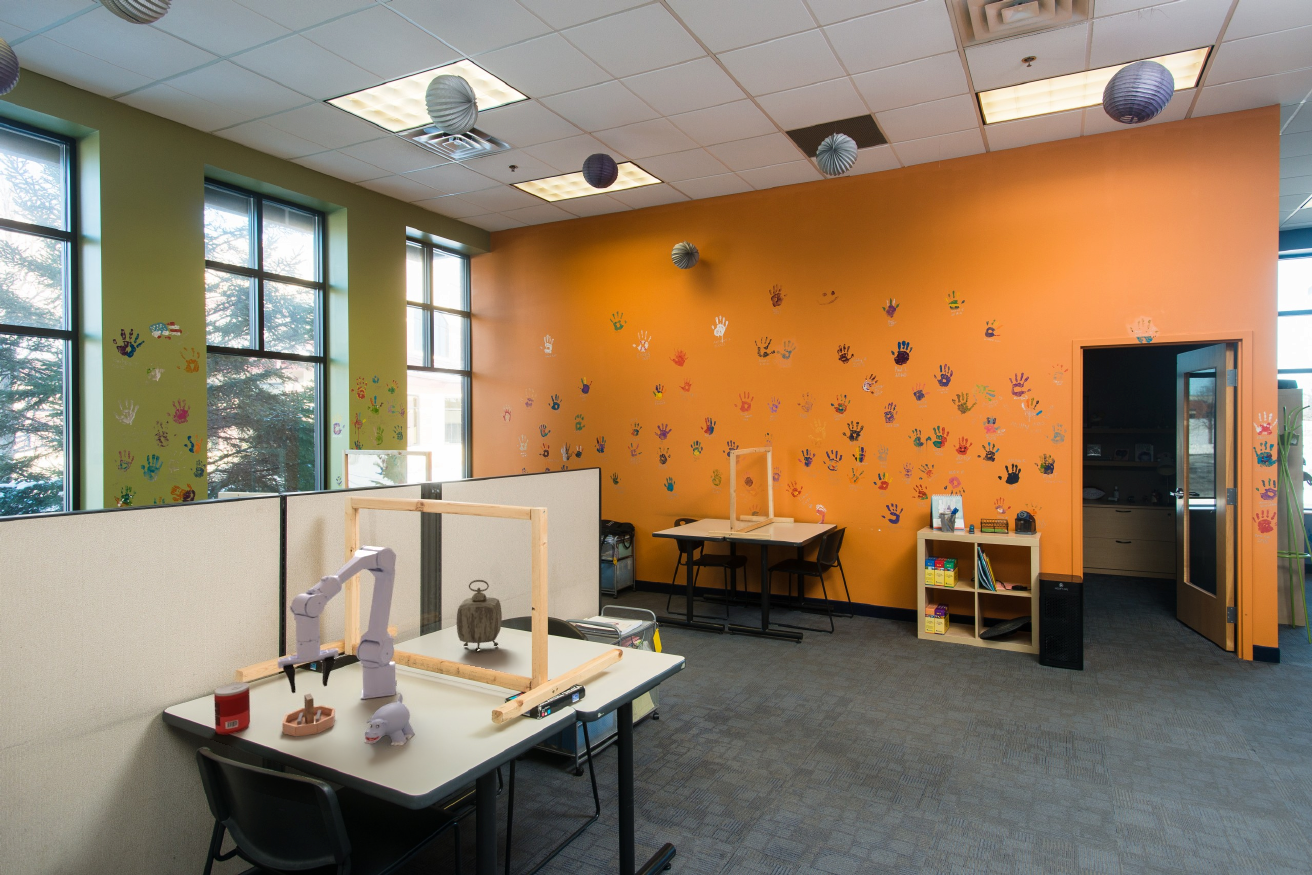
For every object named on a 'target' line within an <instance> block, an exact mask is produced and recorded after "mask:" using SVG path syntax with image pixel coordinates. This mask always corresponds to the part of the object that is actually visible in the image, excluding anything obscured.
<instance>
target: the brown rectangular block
mask: <svg viewBox="0 0 1312 875" xmlns="http://www.w3.org/2000/svg"><path fill="white" fill-rule="evenodd" d="M303 696H304V697H303V698H304V708H305V721H306V723H307V724H311V723H314V706H315V704H314V697H313V696H312V694H311V693H307V694H304V695H303Z"/></svg>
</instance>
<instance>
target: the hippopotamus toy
mask: <svg viewBox="0 0 1312 875" xmlns="http://www.w3.org/2000/svg"><path fill="white" fill-rule="evenodd" d="M398 695H399V697H398V699H397V702H389V703H388V704H384V705H383V706H380V707H379V708H377V710H376V711H375V712H374V714H372V717H371V719H367V720H366V724H369V728H367V729H366V730H365V733H364V739H365V740H364V741H363V743H365V744H369V745H370V744H375V743H377V742H378V741H380V740H381V738H382V737H385V736H389V737H390V740H391V741H392V742H391V744H390V745H391V746H394V747H395V746H399V747H400V746H401V747H402V746H404V744H406V743H407V741H408V739H411V738H412V737H414V735H416V732H415V731H414V729H413V727H412V725H411V723H410V718H411V714H410V711H409V709H408V708H407V706H406V704H403V694H402V693H401V692H399V693H398Z"/></svg>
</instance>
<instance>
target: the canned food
mask: <svg viewBox="0 0 1312 875" xmlns="http://www.w3.org/2000/svg"><path fill="white" fill-rule="evenodd" d="M213 695H214V725H215V726H214V727H215V728H214V729H215V732H216V733H217V734H218V735H233V734H236V733H239V732H240V733H241V732H242V731H244V730H246V729H247V728H248V727H249V726H250V725H251V724H250V723H251V714H250V713H251V706H250V705H251V702H250V700H251V698H250V696H251V695H250V684H249V683H247V682H231V683H227V684H224V685H222V686H218V687H217V688H216V689H215V690H214V694H213Z"/></svg>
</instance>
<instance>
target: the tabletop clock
mask: <svg viewBox="0 0 1312 875" xmlns="http://www.w3.org/2000/svg"><path fill="white" fill-rule="evenodd" d="M477 582H479V583H483V584H486V585H487V586H486V588H484V589H481V587H477V589H475V588H474V589H473V588H471V585H472V584H473V583H477ZM489 587H490V586H489V583H488V582H487V581H486V580H483V579H475V580H472V581H470V582H469V584H468V589H469V590H470V591H472V592H475V593H473V594H472V596H471V597H469V598H466V599H464V600H463V601H462V602H461V603H460V604H459V606H458V608H457V613H456V632H457V637H458V639H459V641H460V642H463V647H464V646H468V647H469V644H468V643H470V644H471V643H472V644H477V647H476V649H477V650H478V649H481V647H480V644H482V643H490V642H491V643H492V642H493V647H494V646H497V645H498V646H499V643H498V642H496V639H497V637H498V635H499V634H500V631H501V629H502V628H501V627H502V619H503V616H502V615H503V614H502V604H501V602H500V599H498V598H496V597H492V596H490V597H488V596H487V595H486V594H485V593H484V592H485V591H487V590H488V589H489ZM498 646H497V647H498ZM476 649H475V650H476Z"/></svg>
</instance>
